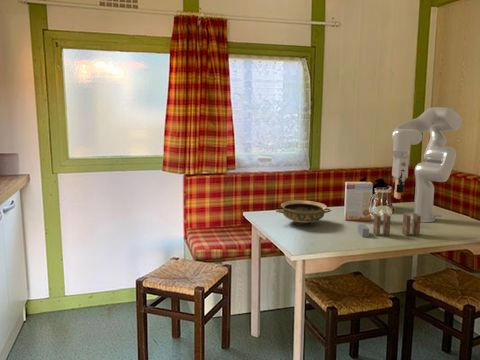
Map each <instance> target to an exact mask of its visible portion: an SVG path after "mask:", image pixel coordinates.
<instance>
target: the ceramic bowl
mask: <svg viewBox="0 0 480 360" xmlns="http://www.w3.org/2000/svg"><path fill="white" fill-rule="evenodd" d="M280 207H281V208H282V209H278V208H277V209H275V212H276V213H278V214H283V216H284V217H285V219H287V220H290V221H293V222H294V224H296V225H298V226H309V225H311V223H314V222H317V221H319V220H321V219H323V218H324V215H325V214H326V213H331V212H332V209H331V208H328V207H327V205H326V204H325V203H321V202H317V201H311V200H298V199H297V200H288V201H284V202H282V203H281V204H280Z"/></svg>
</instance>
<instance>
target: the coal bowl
mask: <svg viewBox="0 0 480 360" xmlns="http://www.w3.org/2000/svg"><path fill="white" fill-rule="evenodd" d="M367 178H368V177H367V176H364V177H362V178H361V179H359V181H358V182H367ZM374 182H376V183H375V184H373V191H372V195H373V194H374V188H376V187H389V186H388V184H387V182H385V179H384V178H381V177H380V178H377V179H374Z"/></svg>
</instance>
